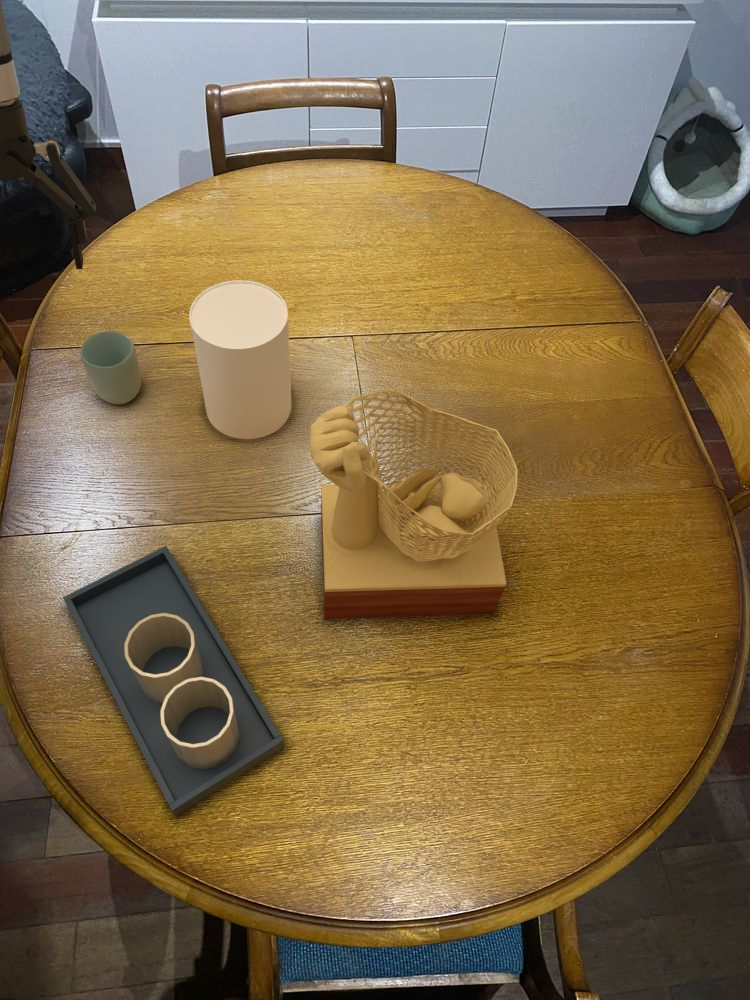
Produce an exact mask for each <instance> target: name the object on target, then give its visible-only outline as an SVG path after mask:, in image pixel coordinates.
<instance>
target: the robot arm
mask: <svg viewBox="0 0 750 1000" xmlns="http://www.w3.org/2000/svg"><path fill="white" fill-rule="evenodd" d="M8 34H9V33H8V30H7V24H6V20H5V14H4V9H3V4H2V0H0V181H4V180H7V181H11V182H19V181H20V180H21V179H23V178H24V179H25V180H26V181H27V182H28V183H29V184H30V185H32V186H35V188H36V189H38V190H39V191H40V192H41V193H42V194H43V195H45V196H46V197H47V198H48V199H49V200H50V201H51V202H52V203H54V204H55V206H57V207H58V208H59V209H60V210H61V211H63V212H64V213H65V214H66V215H67V216H68V217H67V218H68V219H67V228H68V233H69V239H70V244H71V249H72V253H73V254H72V255H73V258H74V265H75V268H76V270H83V265H84V256H83V252H82V251H83V250H82V246H81V244H86V242H87V239H88V234H87V233H88V232H87V228H86V223H85V219H86V218H93V217H94V216H95V215H96V209H97V204H96V203H95V201H94V199H93V198H92V196H91V195H90V194H89V192H88V191H87V190H86V188H85V187H84V185H83V184H82V183H81V181H80V180H79V178H78V176H77V175H76V174H75V173H74V171H73V169H72V168H71V167H70V165H69V164H68V162H67V161H66V160H65V158H64V157H63V154H62V151H61V147H60V145H59V141H58V140H57V139H56V138H54V137H51V138H49V139H48V140H47V141H44V142H43V141H42V142H34V141H33V140H32V138H31V135H30V131H29V127H28V123H27V118H26V112H25V108H24V105H23V101H21V99H20V98H18V97H19V96H20V95H21V90H20V84H19V80H18V74H17V70H16V66H15V62H14V58H13V54H12V49H11V45H10V39H9V35H8ZM36 155H40V156H41V157H42V158H43V160H44V161H46V162H49V163H50V165H51V167H52V169H53V170H54V171H55V173H56V175H57V176H58V177H59V178H60V180H61V181H62V183H63V184H64V186H65V187H66V188H67V190H68V191H69V192H70V194H71V195H72V196H73V198H74V200H73V198H72V197H70V196H69V194H67V193H66V191H64V190H63V189H62V188H60V186H59V185H57V184H56V183H55V182H54V181H53V180H52V179H51V178H49V176H47V174H45V172H43V170H42V168H40V167H39V166H38V164H36V163H35V162H34V160H35V158H36Z"/></svg>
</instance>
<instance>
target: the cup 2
mask: <svg viewBox="0 0 750 1000" xmlns="http://www.w3.org/2000/svg"><path fill="white" fill-rule="evenodd" d="M124 645H125V658H126V660H127V662H128V663H129V665H130V667H131V669H132V671H133V673H134V675H135V677H136V678H137V680H138V682H139V684H140V686H141V688H142V690H143V692H144V693H145V695H146V696H148V697H149V698H150V699H152V700H153V701H154V702H158V703H163V702H164V699H165V697H166V696H167V695H168V693H169V692H170V691H171V690H172V689H173V687H174V686H176V685H178V684H179V683H181V682H183V681H185V680H186V679H190V678H196V677H203V675H204V668H203V661H202V658H201V654H200V651H199V648H198V645H197V642H196V639H195V636H194V633H193V631H192V629H191V628H190V626H189V624H188V623H187V622H186V621H185V620H183V619H182V618H180V617H179V616H177V615H172V614H167V613H161V614H154V615H150V616H148V617H146V618H144V619H143V620H141V621H139V622H138V623H137V624H136V625H135V626H134V627H133V628H132V629H131V630H130V632H129V634H128V636H127V639H126V641H125V644H124ZM172 646H178V647H183V648H187V649H188V650H189V653H188V656H187V657H186V659H185V660H184V661H183V662H182V663H181V664H180V666H178V667H177V668H175V669H173V670H171V671H169V672H167V673H161V674H150V673H145V672H143V670H144V667H145V664H146V662H147V661H148V660H149V659H150V657H151V656H152V655H153V654H154V653H156V652H158V651H159V650H161V649H163V648H166V647H172Z"/></svg>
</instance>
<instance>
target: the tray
mask: <svg viewBox="0 0 750 1000" xmlns="http://www.w3.org/2000/svg"><path fill="white" fill-rule="evenodd" d="M62 599H63V601H64V603H65V605H66V607H67V609H68V611H69V613H70V615H71V618H73V619H72V620H74V622H75V624H76V626H77V628H78V631H79V633H80V634H81V636H82V638H83V640H84V642H85V644H86V646H87V648H88V650H89V652H90V654H91V657H92V658H93V660H94V662H95V664H96V666H97V668H98V669H99V671H100V673H101V675H102V677H103V680H104V682H105V684H106V685H107V687H108V689H109V690H110V693H111V695H112V696H113V699H114V701H115V703H116V705H117V707H118V709H119V710H120V713H121V715H122V716H123V718H124V720H125V723H126V725H127V726H128V728H129V730H130V732H131V734H132V736H133V738H134V741H135V742H136V744H137V746H138V748H139V750H140V752H141V754H142V756H143V758H144V760H145V762H146V763H147V766H148V768H149V769H150V771H151V773H152V775H153V777H154V779H155V781H156V784H157V785H158V787H159V789H160V791H161V793H162V795H163V797H164V799H165V801H166V803H167V805H168V806H169V809H170V810H171V812H172V814H173V815H174V816H175V817H177V816H179V815H181V814H183V813H184V812H185V811H187V810H189V809H191V808H193V807H194V806H195V805H197V804H198V803H200V802H202V801H203V800H205V799H206V798H208V797H209V796H211V795H213V794H214V793H215V792H217V791H220V789H222V788H224V787H225V786H227V785H229V784H230V783H231V782H233V781H235V780H236V779H238V778H239V777H241V776H242V775H244V774H246V773H247V772H249V771H251V770H252V769H253V768H255V767H257V766H258V765H260V764H261V763H263V762H264V761H266V760H267V759H269V758H271V757H272V756H274V755H276V754H277V753H279V752H280V751H282V750H283V749H285V739H284V738H283V736H282V735H281V733H280V731H279V729H278V728H277V726H276V725H275V723H274V721H273V720H272V718H271V717H270V715H269V713H268V711H267V710H266V708H265V707H264V705H263V703H262V702H261V700H260V699H259V697H258V695H257V693H256V691H255V690H254V688H253V686H252V685H251V684H250V682H249V680H248V679H247V677H246V675H245V674H244V672H243V670H242V668H241V666H239V664H238V662H237V660H236V659H235V657H234V655H233V654H232V652H231V650H230V649H229V647H228V645H227V643H226V642H225V640H224V639H223V637H222V635H221V634H220V632H219V631H218V629H217V627H216V626H215V624H214V623H213V621H212V619H211V617H210V615H209V614H208V612H207V610H206V608H204V606H203V604H202V603H201V601H200V599H199V597H198V596H197V594H196V592H195V591H194V589H193V588H192V586H191V584H190V583H189V581H188V579H187V578H186V576H185V574H184V572H183V571H182V570H181V568H180V566H179V564H178V563H177V561H176V560H175V558H174V556H173V554H172V553H171V552H170V550H169V548H168V547H167V545H164V546H163V547H161V548H158V549H157V550H154V551H152V552H151V553H148V554H147V555H144V556H142V557H140V558H139V559H137V560H134V561H133V562H130V563H129V564H126V565H125V566H123V567H121V568H118V569H117V570H114V571H113V572H111V573H109V574H106V575H105V576H102V577H101V578H99V579H97V580H94V581H91V582H90V583H89V584H87V585H85V586H84V585H83V586H82V587H80V588H78V589H77V590H74V591H71V592H70V593H69V594H66V595H65V596H63V597H62ZM161 613H167V614H172V615H177V616H179V617H180V618H182V619H183V620H185V621H186V622H187V623H188V624H189V626H190V628H191V629H192V631H193V633H194V636H195V639H196V642H197V645H198V648H199V651H200V654H201V658H202V661H203V668H204V675H203V677H206V678H210V679H215V680H216V681H218V682H219V683H221V684H222V685H223V686H225V687H226V689H227V690H228V692H229V694H230V695H231V697H232V700H233V704H234V707H235V711H236V715H237V719H238V722H239V729H240V739H239V742H238V746H237V749H236V750H235V752H234V753H233V754H232V756H231V757H230V758H229V759H228V760H227V761H226V762H224V763H222V764H221V765H219V766H218V767H215V768H210V769H205V770H201V769H196V768H192V767H189V766H188V765H186V764H185V763H184V762H182V761H181V760H180V759H179V757H178V755H177V754H176V752H175V750H174V748H173V746H172V744H171V742H170V740H169V739H168V737H167V735H166V733H165V731H164V729H163V727H162V725H161V714H160V710H161V708H162V705H163V703H158V702H154V701H153V700H152V699H150V698H149V697H148V696H146V695H145V693H144V692H143V690H142V688H141V686H140V684H139V682H138V680H137V678H136V677H135V675H134V673H133V671H132V669H131V667H130V665H129V663H128V662H127V660H126V658H125V645H124V644H125V641H126V639H127V636H128V634H129V632H130V630H131V629H132V628H133V627H134V626H135V625H136V624H137V623H138V622H139V621H141V620H143V619H144V618H146V617H148V616H150V615H154V614H161ZM188 653H189V650H188V649H187V648H183V647H178V646H172V647H166V648H163V649H161V650H159V651H158V652H156V653H154V654H153V655H152V656H151V657H150V659H149V660H148V661H147V662H146V664H145V667H144V670H143V672H145V673H150V674H161V673H167V672H169V671H171V670H173V669H175V668H177V667H178V666H180V664H181V663H182V662H183V661H184V660H185V659H186V657H187V656H188ZM228 717H229V714H228V713H227V712H225V711H224V710H222V709H221V708H216V707H211V706H208V707H202V708H198V709H196V710H194V711H193V712H191V713H189V714H188V715H187V716H186V717H185V718H184V720H183V721H182V722H181V723H180V725H179V728H178V731H177V734H176V739H178V740H179V741H180V742H185V743H190V744H197V743H203V742H207V741H209V740H210V739H212V738H214V737H215V736H217V735H218V734H219V733H220V732H221V730H222V729H223V728H224V726H225V725H226V724H227V720H228Z"/></svg>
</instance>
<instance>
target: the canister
mask: <svg viewBox="0 0 750 1000" xmlns="http://www.w3.org/2000/svg"><path fill="white" fill-rule="evenodd" d="M288 309H289V308H288V306H287V303H286V301H285V300H284V298H283V297H282V296H281V294H280V293H278V292H277V291H276V290H275V289H273V288H272V287H270V286H269V285H266V284H263V283H261V282H258V281H253V280H246V279H245V280H243V279H237V280H236V279H235V280H226V281H223V282H219V283H216V284H213V285H212V286H209V287H208V288H206V289H204V290H203V291H201V292H200V293H199V294H198V295H197V296H196V297H195V299H194V300H193V302H192V303H191V305H190V308H189V311H188V312H189V314H188V317H189V325H190V329H191V335H192V340H193V341H192V342H193V346H194V352H195V357H196V362H197V368H198V374H199V379H200V385H201V390H202V391H201V392H202V396H203V402H204V407H205V412H206V413H205V414H206V417H207V419H208V421H209V422H210V424H211V425H212V427H214V428H215V429H216V430H217V431H218V432H220V433H221V434H223V435H225V436H228V437H231V438H233V439H239V440H240V439H241V440H255V439H260V438H264V437H267V436H269V435H272V434H274V433H275V432H276V431H278V430H279V429H281V428H283V426H284V425H285V424H286V423H287V421H288V419H289V418H290V415H291V412H292V387H291V386H292V385H291V384H292V383H291V356H290V333H289V331H290V330H289V310H288Z"/></svg>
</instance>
